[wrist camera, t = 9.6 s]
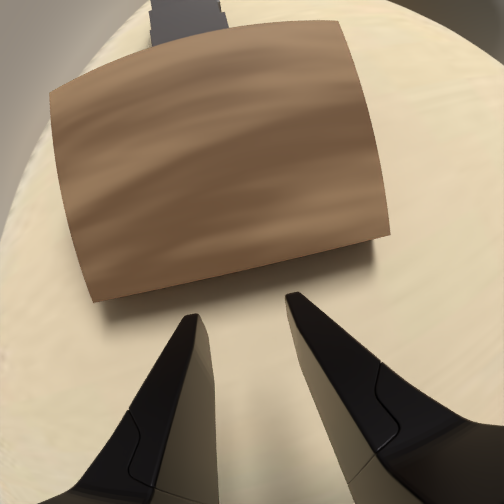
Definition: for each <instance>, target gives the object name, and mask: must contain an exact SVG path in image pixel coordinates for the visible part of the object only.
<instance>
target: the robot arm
mask: <svg viewBox="0 0 504 504" xmlns="http://www.w3.org/2000/svg"><path fill="white" fill-rule="evenodd" d="M285 303H286V310H287V317H288V321H289V325H290V329H291V333H292V337H293V341H294V345H295V348H296V352H297V356H298V360H299V364H300V367H301V370H302V372H303V375H304V377H305V380H306V382H307V385H308V387H309V390H310V392H311V395H312V397H313V400H314V402H315V405H316V407H317V410H318V412H319V415H320V417H321V420H322V422H323V425H324V427H325V430H326V432H327V435H328V437H329V440H330V442H331V445H332V447H333V450H334V452H335V455H336V457H337V460H338V462H339V465H340V467H341V470H342V472H343V475H344V477H345V480H346V482H347V484H348V487H349V490H350V492H351V495H352V497H353V500H354V502H355V504H504V426H499V425H490V424H482V423H477V422H473V421H470V420H468V419H466V418H463V417H461V416H460V415H458V414H456V413H455V412H453V411H451V410H450V409H448V408H447V407H445V406H443V405H442V404H440V403H439V402H437V401H435V400H434V399H432V398H431V397H429V396H428V395H426V394H424V393H423V392H421V391H420V390H418V389H417V388H415V387H414V386H413V385H411V384H410V383H408V382H407V381H405V380H404V379H403V378H402V377H400V376H399V375H398V374H397V373H395V372H394V371H393V370H392V369H390V368H389V367H388V366H387V365H386V364H384V363H383V362H381V361H380V359H378V358H377V357H376V356H375V355H374V354H372V353H371V352H370V351H369V350H368V349H367V348H365V347H364V346H363V345H362V344H361V343H359V342H358V341H357V340H356V339H355V338H353V337H352V336H351V335H350V334H349V333H348V332H346V331H345V330H344V329H343V328H342V327H340V326H339V325H338V324H337V323H336V322H334V321H333V320H332V319H331V318H330V317H329V316H327V315H326V314H325V313H324V312H323V311H321V310H320V309H319V308H318V307H317V306H315V305H314V304H313V303H312V302H311V301H310V300H308V299H307V298H306V297H305V296H304V295H302V294H301V293H300V292H293V293H289V294H286V295H285ZM38 504H219V492H218V475H217V453H216V424H215V385H214V375H213V368H212V361H211V353H210V345H209V338H208V334H207V331H206V328H205V326H204V324H203V322H202V319H201V317H200V315H199V314H197V313H195V314H190V315H186V316H184V317H183V319H182V320H181V322H180V323H179V325H178V327H177V328H176V330H175V332H174V333H173V335H172V336H171V338H170V340H169V341H168V343H167V345H166V346H165V348H164V350H163V351H162V353H161V354H160V356H159V358H158V359H157V361H156V363H155V364H154V366H153V368H152V369H151V371H150V373H149V374H148V376H147V378H146V379H145V381H144V383H143V384H142V386H141V388H140V389H139V391H138V393H137V394H136V396H135V398H134V399H133V401H132V403H131V405H130V406H129V410H127V411H126V413H125V415H124V416H123V418H122V420H121V421H120V423H119V425H118V426H117V428H116V429H115V431H114V433H113V434H112V436H111V437H110V439H109V440H108V442H107V443H106V444H105V446H104V447H103V449H102V450H101V452H100V453H99V454H98V456H97V457H96V458H95V460H94V461H93V462H92V464H91V465H90V467H89V468H88V469H87V471H86V472H85V473H84V475H83V476H82V477H81V479H80V480H79V481H78V482H77V483H76V484H75V485H74V486H73V487H72V488H71V489H69V490H68V491H66V492H64V493H62V494H60V495H58V496H55V497H53V498H50V499H48V500H46V501H43V502H41V503H38Z"/></svg>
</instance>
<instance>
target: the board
mask: <svg viewBox="0 0 504 504" xmlns="http://www.w3.org/2000/svg"><path fill="white" fill-rule="evenodd" d="M49 96H50V115H51V127H52V137H53V146H54V154H55V161H56V167H57V173H58V179H59V184H60V190H61V195H62V199H63V204H64V209H65V213H66V217H67V221H68V225H69V229H70V233H71V237H72V240H73V244H74V247H75V251H76V254H77V257H78V260H79V264H80V267H81V270H82V273H83V276H84V279H85V282H86V285H87V287H88V290H89V293H90V296H91V298H92V301H93V303H95V302H100V301H105V300H109V299H114V298H119V297H124V296H129V295H133V294H138V293H143V292H148V291H152V290H157V289H161V288H166V287H171V286H175V285H180V284H184V283H189V282H194V281H198V280H203V279H207V278H211V277H216V276H220V275H225V274H229V273H234V272H238V271H242V270H247V269H251V268H255V267H260V266H264V265H268V264H273V263H277V262H281V261H286V260H290V259H294V258H298V257H302V256H307V255H311V254H315V253H319V252H323V251H327V250H332V249H336V248H340V247H344V246H348V245H352V244H356V243H360V242H364V241H368V240H372V239H376V238H380V237H384V236H388V235H390V226H389V217H388V209H387V202H386V195H385V189H384V182H383V176H382V171H381V165H380V160H379V155H378V150H377V145H376V141H375V136H374V132H373V128H372V124H371V120H370V116H369V112H368V108H367V104H366V101H365V97H364V94H363V90H362V87H361V84H360V80H359V77H358V74H357V71H356V68H355V65H354V62H353V59H352V56H351V53H350V50H349V48H348V45H347V42H346V40H345V37H344V34H343V32H342V29H341V27H340V25H339V22H338V21H325V20H313V21H286V22H273V23H263V24H254V25H246V26H239V27H233V28H227V29H221V30H216V31H211V32H206V33H202V34H197V35H193V36H189V37H185V38H181V39H177V40H174V41H170V42H167V43H163V44H160V45H157V46H154V47H151V48H148V49H145V50H142V51H139V52H136V53H133V54H131V55H128V56H125V57H123V58H120V59H118V60H115V61H113V62H110V63H108V64H106V65H103V66H101V67H99V68H97V69H94V70H92V71H90V72H88V73H86V74H84V75H82V76H80V77H78V78H76V79H74V80H72V81H70V82H68V83H66V84H64V85H62V86H61V87H59V88H57V89H55V90H53V91H52V92H50V93H49Z"/></svg>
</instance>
